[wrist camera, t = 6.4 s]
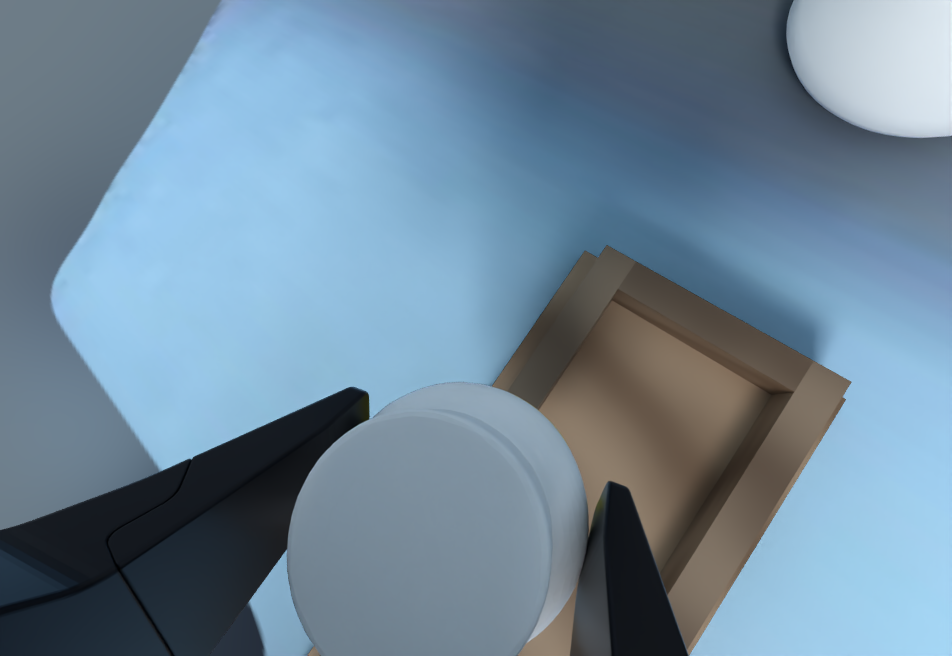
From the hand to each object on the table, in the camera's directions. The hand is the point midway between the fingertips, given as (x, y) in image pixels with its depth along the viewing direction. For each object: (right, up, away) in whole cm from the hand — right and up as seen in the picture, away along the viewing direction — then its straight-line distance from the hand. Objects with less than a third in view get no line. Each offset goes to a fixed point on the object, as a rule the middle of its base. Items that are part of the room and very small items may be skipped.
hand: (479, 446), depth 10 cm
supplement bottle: (+1, -3, +6) cm, 7 cm away
